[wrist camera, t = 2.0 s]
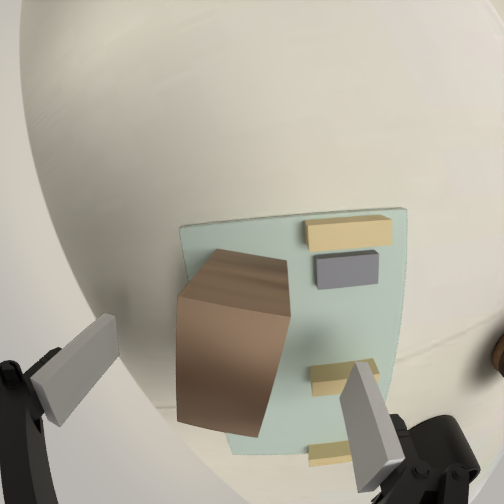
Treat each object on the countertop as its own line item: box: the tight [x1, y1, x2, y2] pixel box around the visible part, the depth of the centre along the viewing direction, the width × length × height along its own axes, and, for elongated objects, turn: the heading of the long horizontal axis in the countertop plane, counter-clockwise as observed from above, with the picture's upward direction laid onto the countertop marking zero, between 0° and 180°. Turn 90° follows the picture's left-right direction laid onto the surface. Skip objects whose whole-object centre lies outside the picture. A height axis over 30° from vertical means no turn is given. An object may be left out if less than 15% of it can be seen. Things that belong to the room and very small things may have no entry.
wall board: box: [179, 208, 408, 467], centre depth 20 cm, size 24×15×3 cm, turn 7°
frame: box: [176, 248, 291, 438], centre depth 15 cm, size 8×5×8 cm, turn 172°
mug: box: [408, 416, 481, 484], centre depth 19 cm, size 9×12×9 cm
